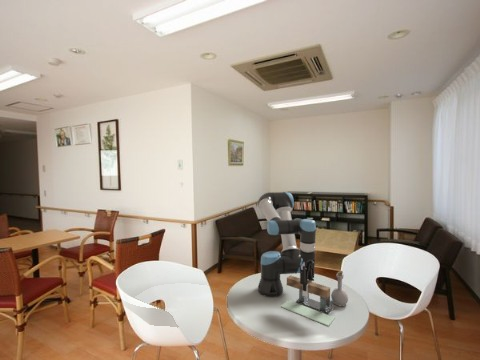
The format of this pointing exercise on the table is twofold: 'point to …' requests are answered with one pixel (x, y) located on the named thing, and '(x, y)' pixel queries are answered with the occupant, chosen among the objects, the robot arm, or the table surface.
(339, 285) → the potion bottle
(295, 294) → the table surface
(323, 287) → the rail
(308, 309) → the mat
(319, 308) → the rack
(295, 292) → the table surface
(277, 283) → the robot arm
